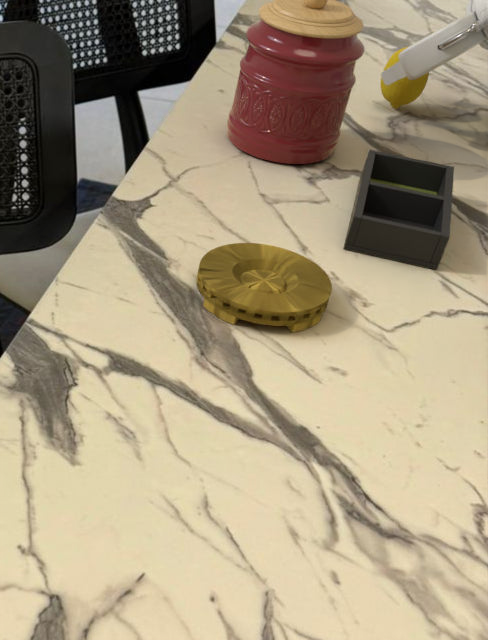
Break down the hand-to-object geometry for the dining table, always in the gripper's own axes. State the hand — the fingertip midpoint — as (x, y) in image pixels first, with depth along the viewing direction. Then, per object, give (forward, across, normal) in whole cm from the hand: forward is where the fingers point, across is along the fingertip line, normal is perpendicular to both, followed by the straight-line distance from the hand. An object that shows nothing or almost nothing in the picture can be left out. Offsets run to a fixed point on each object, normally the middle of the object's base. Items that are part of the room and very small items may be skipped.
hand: (401, 69), depth 129 cm
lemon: (+3, 0, -4) cm, 5 cm away
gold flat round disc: (-5, -54, -12) cm, 56 cm away
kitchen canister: (+6, -22, -1) cm, 23 cm away
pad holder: (-7, -30, -14) cm, 34 cm away
